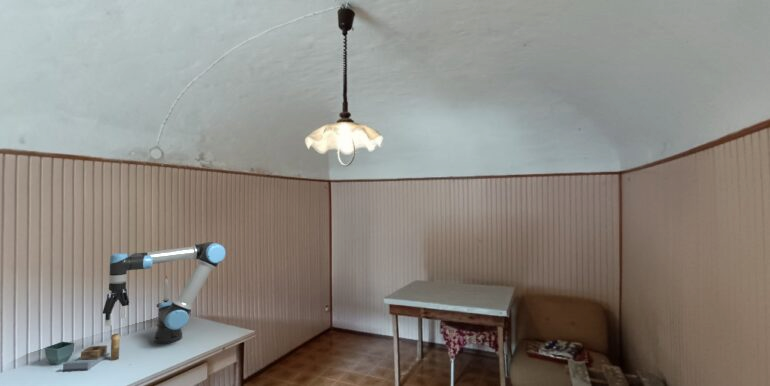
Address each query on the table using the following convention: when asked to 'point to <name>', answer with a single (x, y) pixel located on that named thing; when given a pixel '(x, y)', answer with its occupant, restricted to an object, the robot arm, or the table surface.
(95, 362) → the board
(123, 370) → the table surface
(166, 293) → the candlestick
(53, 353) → the flower pot
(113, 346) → the dowel
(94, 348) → the block
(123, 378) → the table surface
